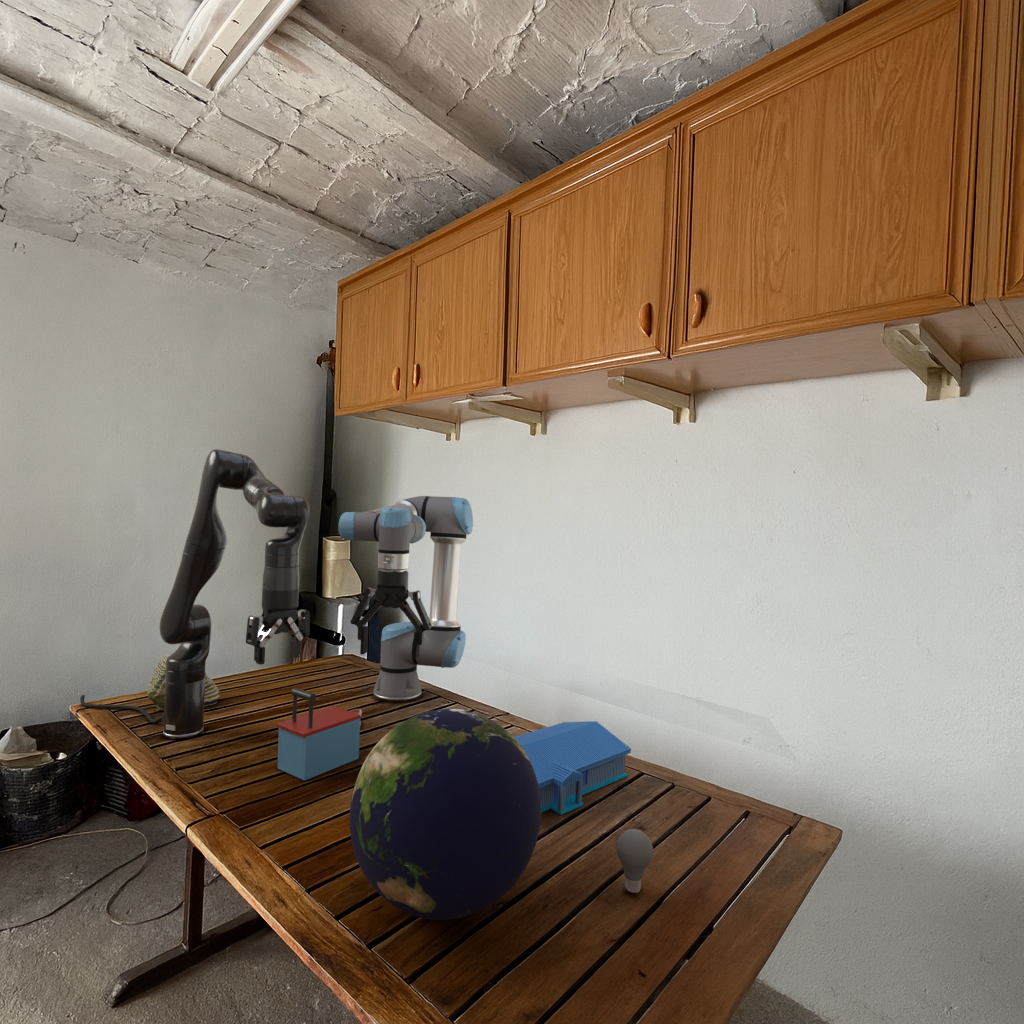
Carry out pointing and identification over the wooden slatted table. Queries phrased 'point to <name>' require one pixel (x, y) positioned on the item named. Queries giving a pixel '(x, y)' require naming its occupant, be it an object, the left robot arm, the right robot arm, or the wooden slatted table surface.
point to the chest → (318, 750)
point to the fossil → (158, 687)
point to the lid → (314, 717)
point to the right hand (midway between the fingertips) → (389, 655)
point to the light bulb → (634, 857)
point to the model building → (573, 762)
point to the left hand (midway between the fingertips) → (277, 660)
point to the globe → (445, 814)
